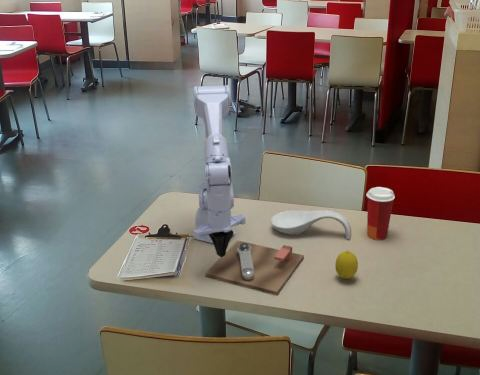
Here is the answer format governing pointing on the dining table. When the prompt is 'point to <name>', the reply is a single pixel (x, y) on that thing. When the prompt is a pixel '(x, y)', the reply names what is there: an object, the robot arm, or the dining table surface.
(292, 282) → the dining table surface
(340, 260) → the lemon
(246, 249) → the link
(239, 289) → the dining table surface
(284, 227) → the spoon rest
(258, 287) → the board
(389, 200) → the paper cup
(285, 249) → the keeper
